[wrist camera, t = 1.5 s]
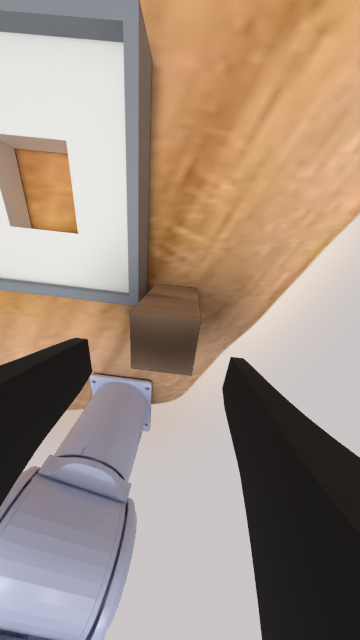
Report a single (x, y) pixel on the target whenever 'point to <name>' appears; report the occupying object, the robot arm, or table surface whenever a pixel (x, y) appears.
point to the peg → (165, 330)
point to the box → (77, 145)
